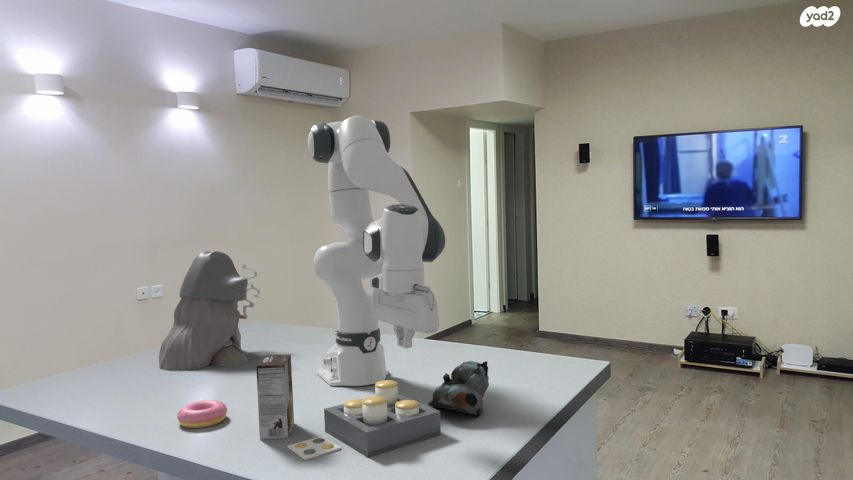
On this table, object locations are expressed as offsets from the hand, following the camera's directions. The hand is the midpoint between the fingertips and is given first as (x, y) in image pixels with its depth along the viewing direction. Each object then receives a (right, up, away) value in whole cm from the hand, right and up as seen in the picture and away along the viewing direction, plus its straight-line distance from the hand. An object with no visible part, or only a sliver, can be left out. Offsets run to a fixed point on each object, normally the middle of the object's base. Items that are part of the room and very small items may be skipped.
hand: (404, 346), depth 130 cm
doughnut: (-47, -20, +12) cm, 53 cm away
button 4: (+1, -17, +1) cm, 17 cm away
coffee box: (-28, -20, +5) cm, 35 cm away
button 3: (-4, -14, +7) cm, 17 cm away
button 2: (-6, -15, -4) cm, 17 cm away
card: (-18, -20, -5) cm, 27 cm away
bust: (-68, -16, +73) cm, 101 cm away
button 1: (-11, -17, +3) cm, 21 cm away
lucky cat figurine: (+12, -18, +14) cm, 26 cm away
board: (-5, -19, +2) cm, 20 cm away
